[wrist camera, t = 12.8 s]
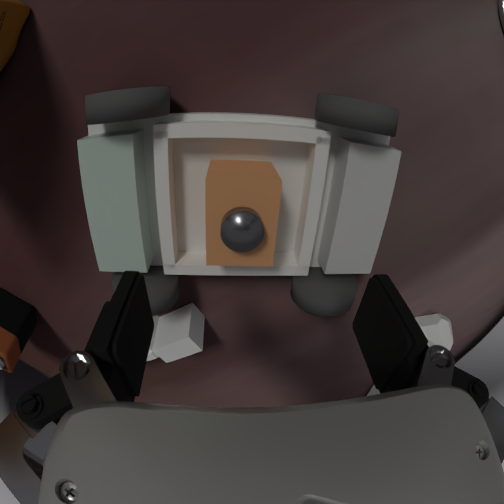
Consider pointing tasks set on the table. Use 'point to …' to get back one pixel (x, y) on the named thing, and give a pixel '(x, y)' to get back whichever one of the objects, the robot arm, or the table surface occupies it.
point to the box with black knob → (241, 212)
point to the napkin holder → (177, 334)
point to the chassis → (237, 148)
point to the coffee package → (10, 27)
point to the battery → (14, 328)
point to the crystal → (432, 334)
